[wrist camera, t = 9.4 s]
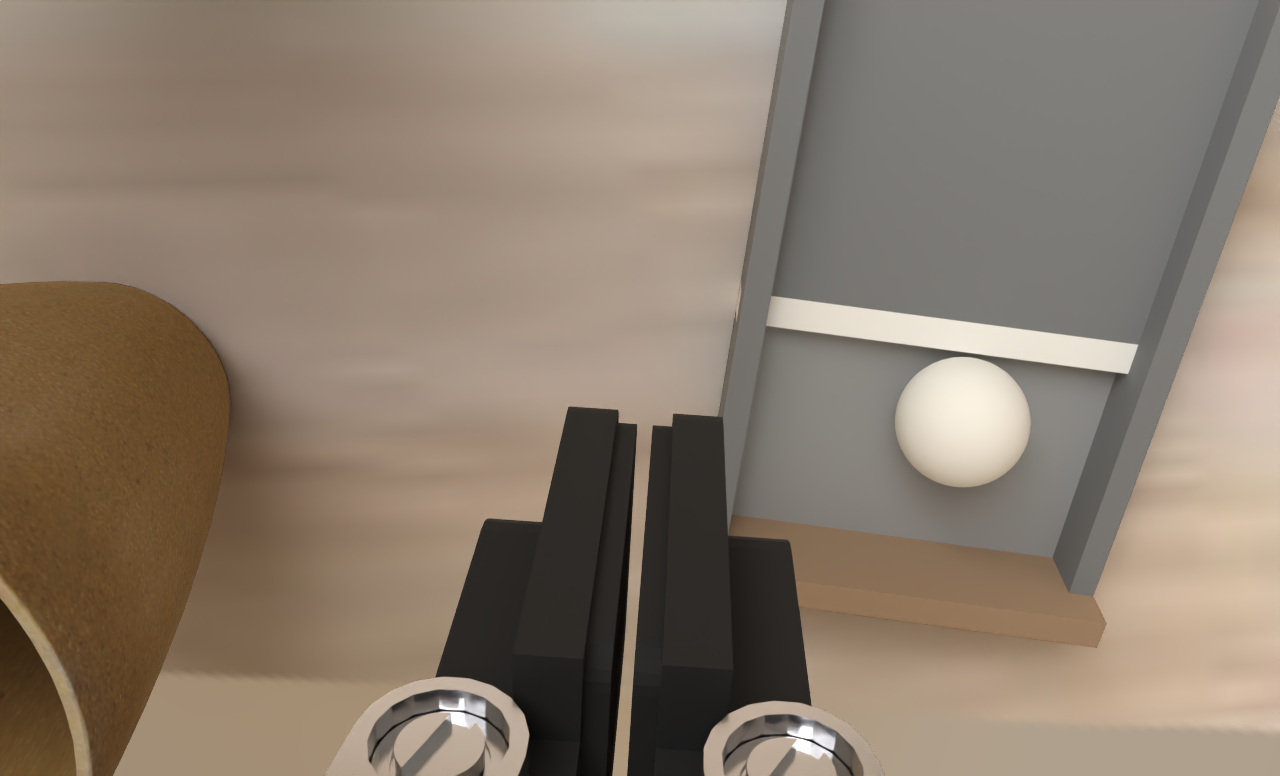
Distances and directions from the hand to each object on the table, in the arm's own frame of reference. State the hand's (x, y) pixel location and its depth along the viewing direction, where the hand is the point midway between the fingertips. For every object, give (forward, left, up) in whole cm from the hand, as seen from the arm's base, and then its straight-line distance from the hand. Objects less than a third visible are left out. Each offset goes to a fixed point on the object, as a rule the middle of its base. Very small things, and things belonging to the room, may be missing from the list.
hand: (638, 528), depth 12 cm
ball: (+8, +9, -20) cm, 24 cm away
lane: (+5, +9, -22) cm, 24 cm away
